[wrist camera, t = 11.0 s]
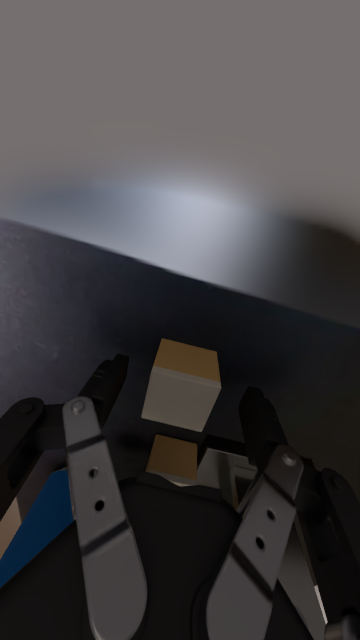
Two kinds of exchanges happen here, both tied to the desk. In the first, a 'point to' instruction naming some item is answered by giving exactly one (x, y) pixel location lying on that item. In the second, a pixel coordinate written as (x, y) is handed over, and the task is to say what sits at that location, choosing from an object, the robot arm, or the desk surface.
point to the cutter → (234, 480)
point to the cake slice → (182, 385)
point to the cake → (174, 460)
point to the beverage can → (39, 524)
